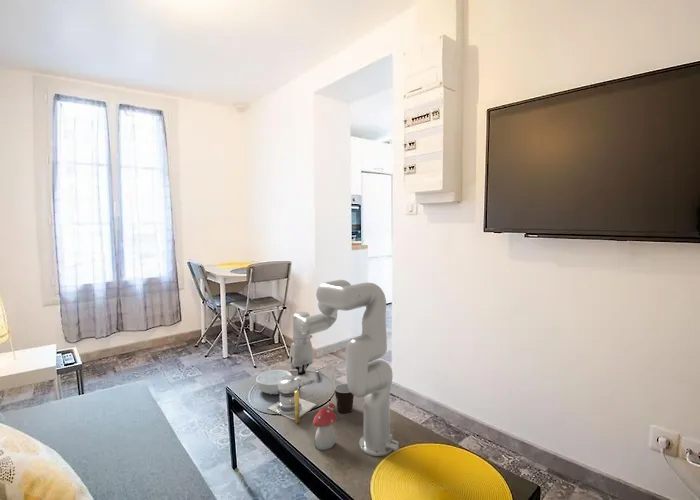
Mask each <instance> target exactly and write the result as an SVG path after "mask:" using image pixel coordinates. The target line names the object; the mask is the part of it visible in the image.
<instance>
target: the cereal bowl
mask: <svg viewBox="0 0 700 500" xmlns="http://www.w3.org/2000/svg"><path fill="white" fill-rule="evenodd" d="M289 375H292V373H291V372H290V371H287V370H284V369H273V370H267V371H264V372H262V373H259V374H258V375H257V376H256V378H255V381H256V383H255V384H256V387H257V388H258V390H259V391H260V392H262V393H264V394H268V393H269V394H268V395H272V394H273V395H277V394H276V393H278V380H279V379H280V378H281V377H283V376H289Z"/></svg>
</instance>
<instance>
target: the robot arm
mask: <svg viewBox="0 0 700 500" xmlns="http://www.w3.org/2000/svg"><path fill="white" fill-rule="evenodd" d="M315 296H316V299H317V307H318V310H319V311H320V313H319V314H314V315H310V313H309V312H306V311H298V312H295V313H294V314H293V316H292V343H291V344H290V348H289V356H288V357H289V360H288V361H289V364H290V369H291V370H297V376H299V375H303V374H306V371H307V369H308V367H309V366H310V365H312V364H313V361H314V350H313V345H312V341H311V339H312V338H313V335H314V334H317V333H321V332H324V331H326V330H328V329H330V328H331V327H332V326H333V325H334V323H335V322H336V321H337V320H338V312H339V310H340V311H352V310H355V309H359V308H360V309H361V308H364V307H365V310H364V312H363V316H362V319H361V326H362V329H361V334H360V335H359V336H355V337H353V338H351V339H349V341H348V342H347V344H346V347H345V350H344V351H345V355H344V356H345V371H346V374H345V375H346V384H348V388H349V390H350V392H351V393H352V394H353V395H354V398H355V397H356V398H363V409H362V411H363V412H362V413H363V418H362V419H363V435H362V436H361V437H360V439H359V441H358V442H359V443H358V444H359V445H358V446H359V449H360V450H361V451H362V452H363V453H365V454H367V455H369V456H374V457H382V456H386V455H388V454H390V453H391V452H392V451H396V452H399V448H400V446H399V440H398V441H397V440H396V439H395V440H394V438H393V434H392V433H391V431H390V428H391V427H390V424H391V423H390V419H391V416H390V414H391V413H390V411H391V410H390V405H391V401H390V400H391V389H392V388H391V387H392V383H393V370H392V367H391V365H390V364H389V363H388V362H387V361H385V360H382V359H380V358H382V357H385V355H386V353H387V350H388V344H387V343H388V341H387V337H388V336H387V324H386V323H387V322H386V318H387V317H386V315H387V299H386V295H385V292H384V290H383V289H382V288H381V287H380V285H378V284H376V283H375V282H374V283H373V282H360V283H357V284H356V283H355V284H351V283H350V282H349V281H347V280H344V279H337V280H331V281H325V282H322V283H321V284H319V286H317V289H316V294H315Z"/></svg>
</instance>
